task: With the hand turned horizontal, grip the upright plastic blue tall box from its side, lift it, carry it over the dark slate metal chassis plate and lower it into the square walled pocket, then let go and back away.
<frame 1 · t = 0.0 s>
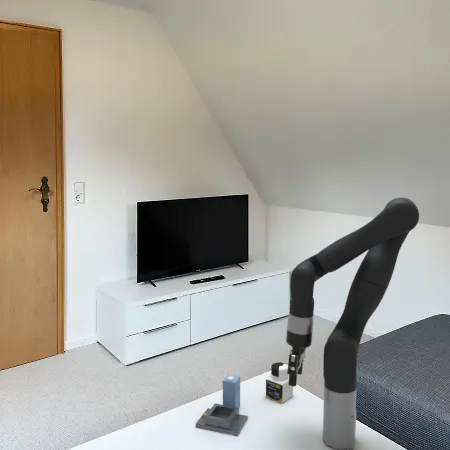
hand: (295, 379, 144), 17 cm above the table, fingers open, 8 cm apart
blue tall box: (231, 409, 160), on the table
chassis: (222, 423, 152), on the table
medicine bottle: (279, 397, 169), on the table
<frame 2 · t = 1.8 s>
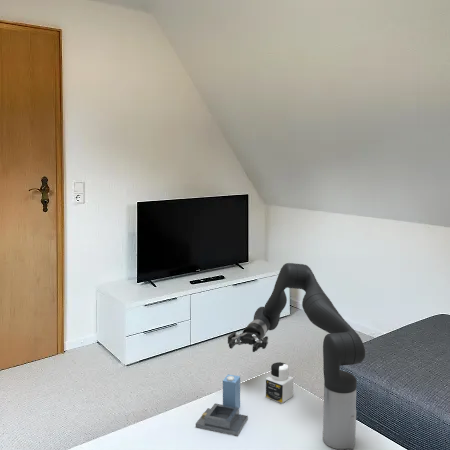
hand: (241, 347, 168), 17 cm above the table, fingers open, 8 cm apart
nothing on the table moved.
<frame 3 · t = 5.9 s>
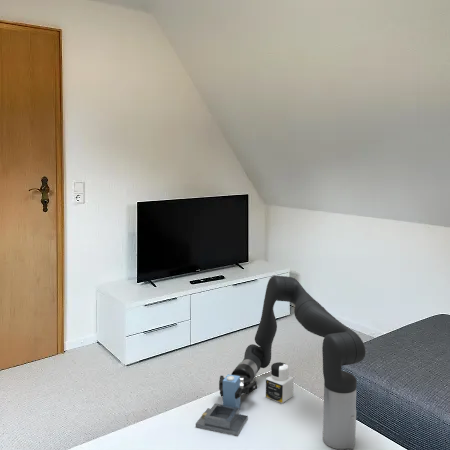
hand: (228, 394, 157), 7 cm above the table, fingers closed on blue tall box, 4 cm apart
blue tall box: (231, 409, 160), on the table, touching gripper
everything else where it was.
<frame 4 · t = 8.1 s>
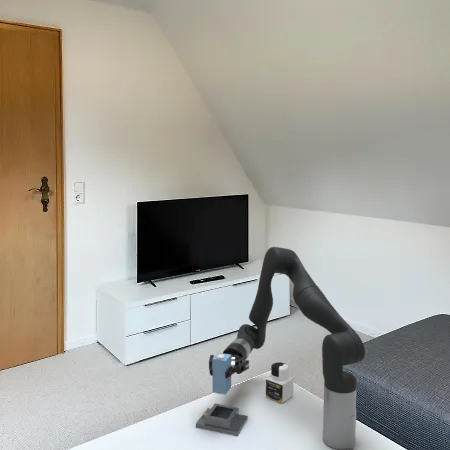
hand: (218, 374, 147), 18 cm above the table, fingers closed on blue tall box, 4 cm apart
blue tall box: (221, 389, 150), point 11 cm above the table, touching gripper
everything else where it was.
when the fingers open (9 cm above the table, at t = 10.4 s): blue tall box drops 1 cm, resting on chassis.
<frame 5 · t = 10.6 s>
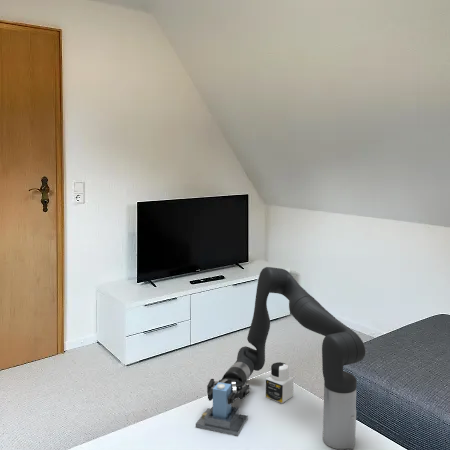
hand: (219, 399, 148), 9 cm above the table, fingers open, 6 cm apart
blue tall box: (222, 419, 152), point 1 cm above the table, touching chassis
everything else where it was.
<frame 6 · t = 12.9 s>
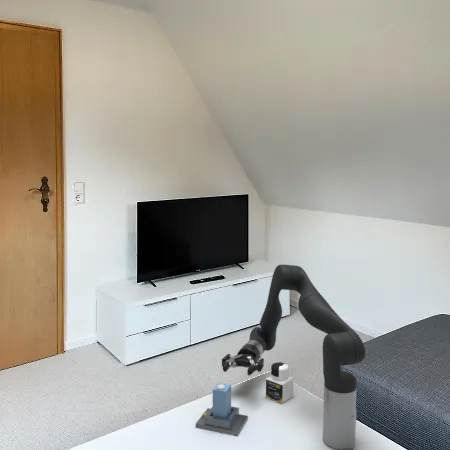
hand: (236, 370, 160), 13 cm above the table, fingers open, 8 cm apart
nothing on the table moved.
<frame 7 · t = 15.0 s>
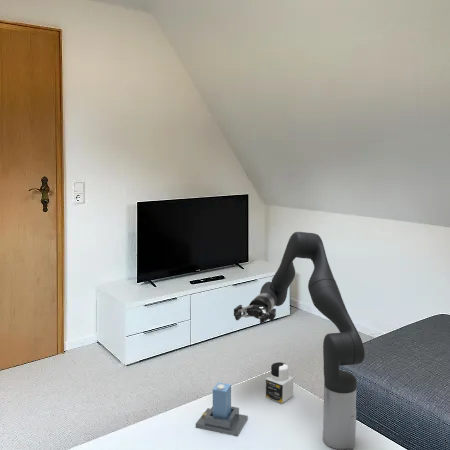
hand: (248, 319, 160), 30 cm above the table, fingers open, 8 cm apart
nothing on the table moved.
at the end: blue tall box 0.0 cm off-centre on the chassis, point 1.2 cm above the chassis's base; blue tall box tilted 0°; the gripper is holding nothing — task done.
